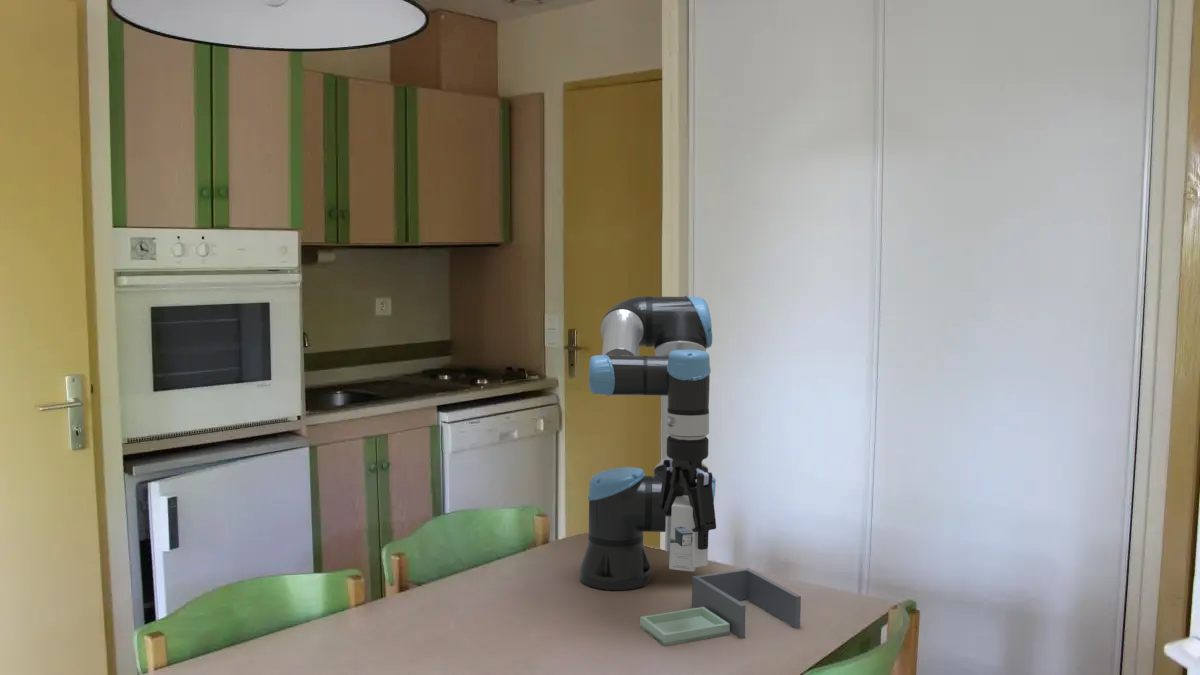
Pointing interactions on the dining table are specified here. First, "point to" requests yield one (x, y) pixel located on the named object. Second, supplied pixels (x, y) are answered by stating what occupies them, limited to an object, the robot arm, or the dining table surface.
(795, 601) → the printer bay
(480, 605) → the dining table surface
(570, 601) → the dining table surface
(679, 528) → the ink box
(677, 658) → the dining table surface
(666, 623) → the tray
